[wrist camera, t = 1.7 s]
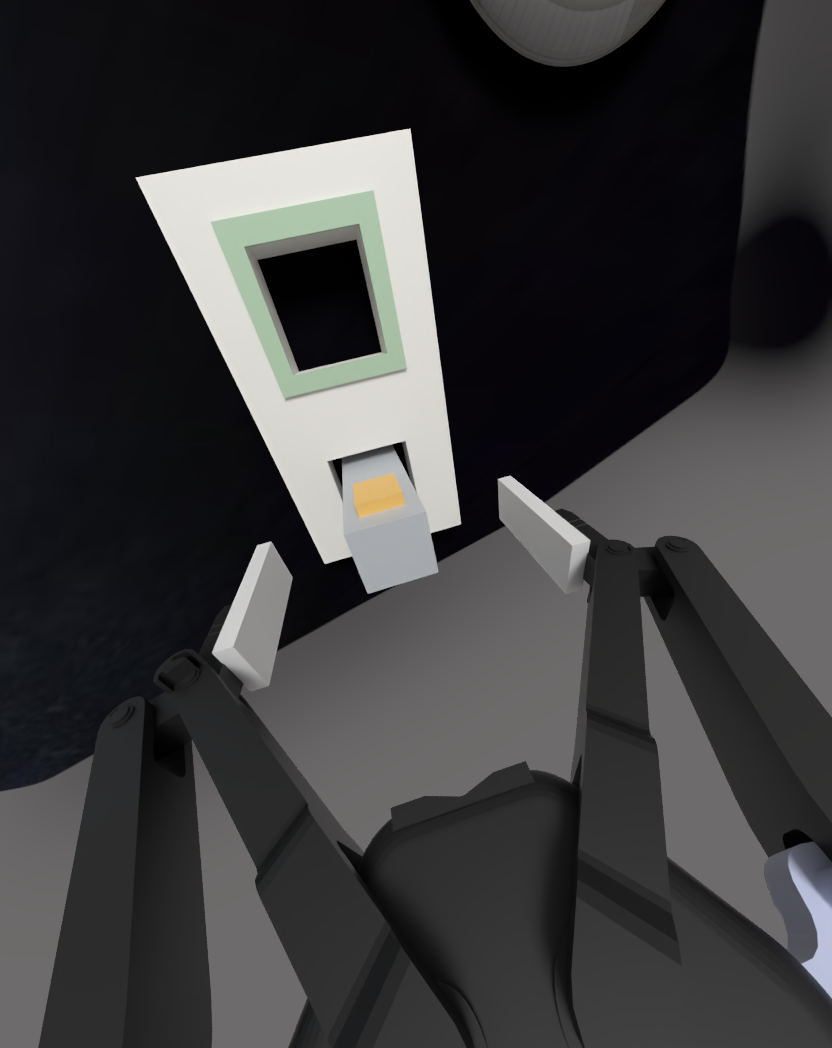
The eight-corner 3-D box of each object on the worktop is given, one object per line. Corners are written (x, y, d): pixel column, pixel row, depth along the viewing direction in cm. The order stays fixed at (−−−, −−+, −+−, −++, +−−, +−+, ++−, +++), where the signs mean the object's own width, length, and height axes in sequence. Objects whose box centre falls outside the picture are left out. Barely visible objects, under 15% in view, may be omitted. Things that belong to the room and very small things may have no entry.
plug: (357, 501, 25) (367, 593, 16) (339, 448, 22) (338, 522, 13) (402, 488, 25) (438, 572, 16) (389, 435, 23) (423, 499, 14)
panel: (326, 546, 27) (324, 565, 24) (165, 201, 14) (132, 175, 12) (452, 510, 27) (461, 525, 25) (400, 157, 15) (411, 126, 13)
